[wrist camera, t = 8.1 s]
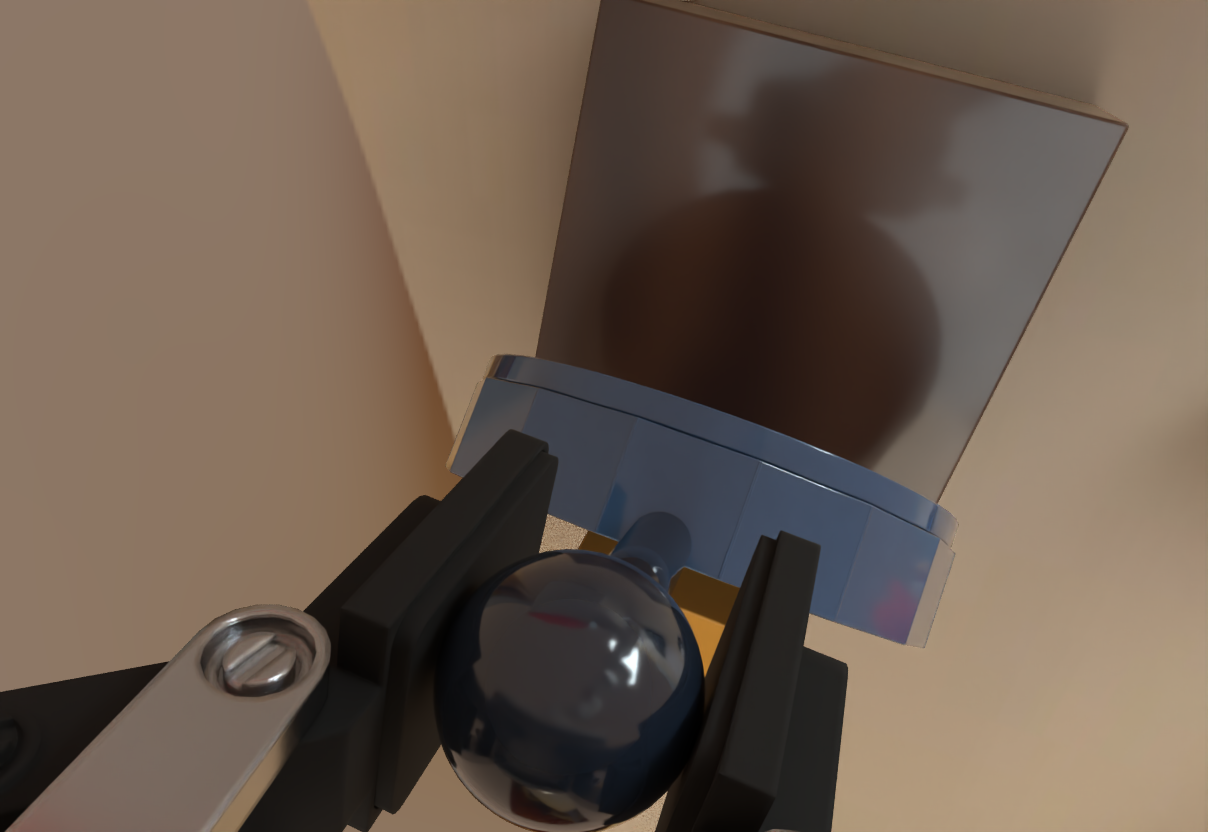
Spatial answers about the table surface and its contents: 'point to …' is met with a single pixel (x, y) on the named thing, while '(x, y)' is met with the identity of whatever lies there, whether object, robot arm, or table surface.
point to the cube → (690, 600)
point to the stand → (812, 230)
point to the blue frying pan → (647, 586)
